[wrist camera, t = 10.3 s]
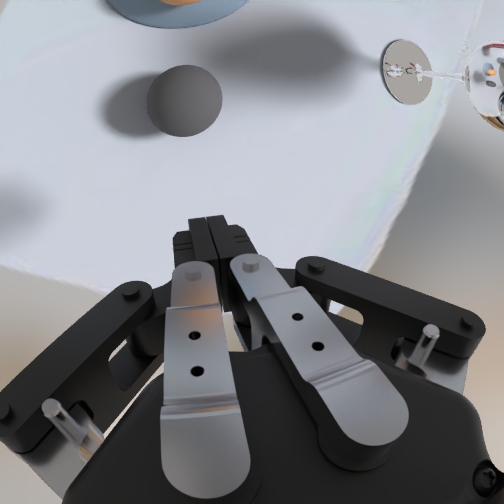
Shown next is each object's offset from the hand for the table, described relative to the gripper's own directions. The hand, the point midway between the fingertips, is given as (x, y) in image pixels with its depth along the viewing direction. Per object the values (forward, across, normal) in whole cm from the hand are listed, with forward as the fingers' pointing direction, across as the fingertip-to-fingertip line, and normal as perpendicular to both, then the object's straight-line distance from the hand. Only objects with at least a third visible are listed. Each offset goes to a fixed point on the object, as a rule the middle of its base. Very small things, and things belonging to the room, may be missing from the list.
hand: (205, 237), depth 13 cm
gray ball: (+11, 0, -6) cm, 13 cm away
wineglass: (+14, -23, -10) cm, 29 cm away
